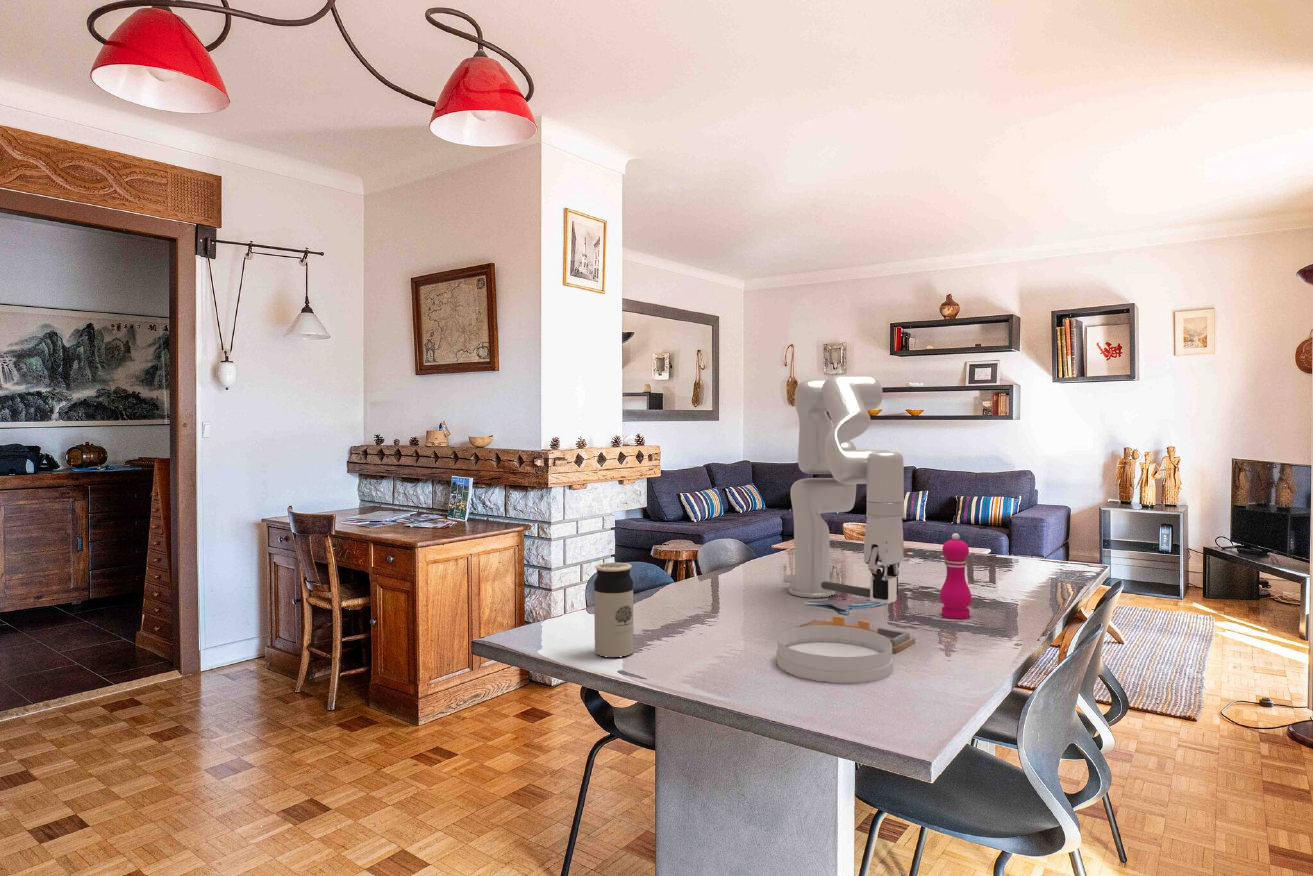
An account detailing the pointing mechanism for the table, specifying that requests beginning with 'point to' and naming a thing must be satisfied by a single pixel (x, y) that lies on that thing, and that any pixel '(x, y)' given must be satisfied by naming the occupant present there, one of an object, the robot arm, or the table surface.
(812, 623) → the board
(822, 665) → the dish
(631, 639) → the travel mug
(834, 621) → the clip
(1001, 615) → the table surface
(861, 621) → the clip
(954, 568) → the pepper mill
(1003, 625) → the table surface
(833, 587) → the connector
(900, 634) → the end holder
